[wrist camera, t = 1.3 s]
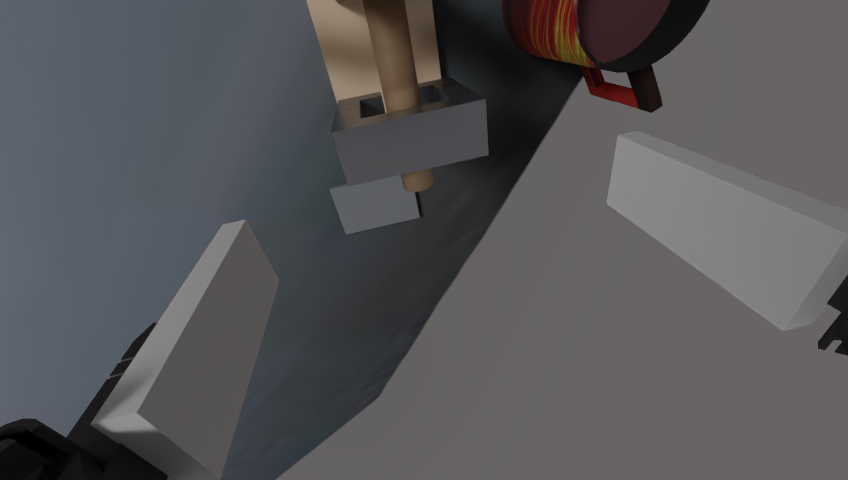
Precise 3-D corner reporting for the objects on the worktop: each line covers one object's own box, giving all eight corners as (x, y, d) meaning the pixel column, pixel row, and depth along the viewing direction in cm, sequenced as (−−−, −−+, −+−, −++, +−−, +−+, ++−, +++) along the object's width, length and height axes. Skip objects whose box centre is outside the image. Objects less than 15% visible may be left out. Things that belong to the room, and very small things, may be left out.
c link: (350, 142, 25) (348, 186, 18) (338, 100, 23) (331, 132, 17) (454, 119, 25) (488, 155, 19) (449, 77, 23) (485, 99, 17)
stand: (300, -27, 26) (206, -103, 10) (422, -50, 27) (527, -161, 10) (347, 135, 34) (339, 244, 17) (443, 114, 34) (523, 202, 18)
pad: (329, 187, 36) (329, 189, 36) (409, 169, 37) (410, 171, 36) (346, 231, 40) (345, 234, 39) (419, 215, 40) (419, 217, 40)
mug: (586, 94, 36) (675, 122, 26) (482, 24, 30) (542, 27, 21) (653, -6, 31) (789, -17, 22) (545, -106, 26) (659, -181, 16)
